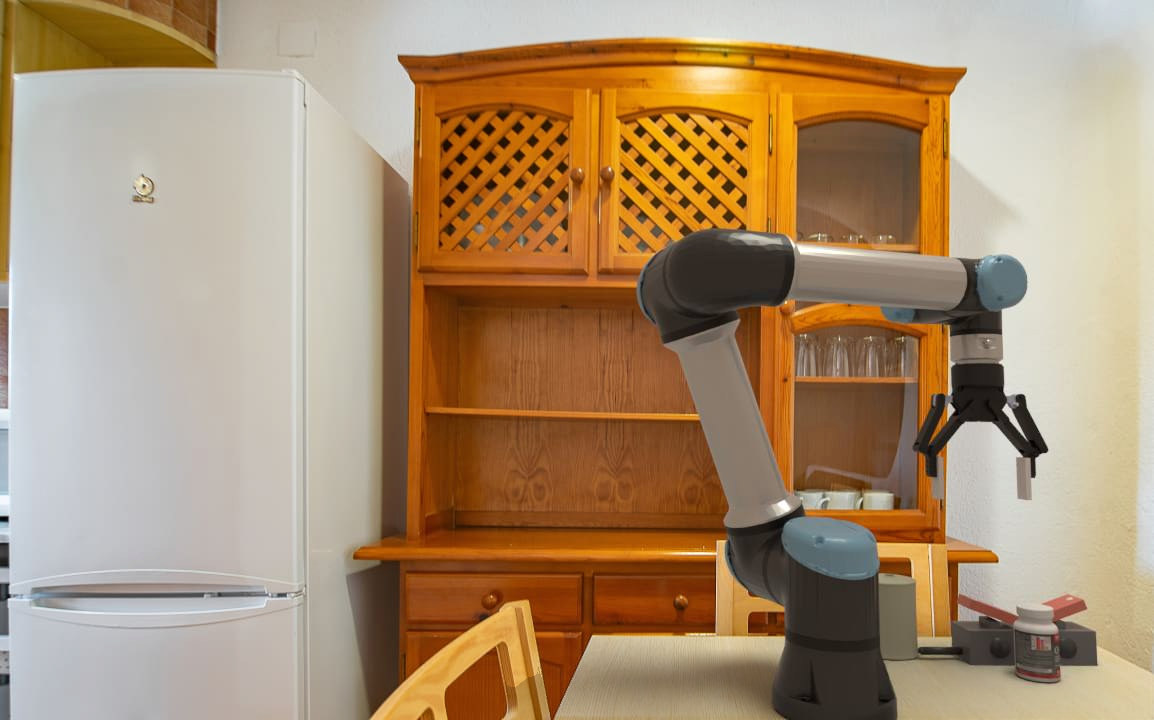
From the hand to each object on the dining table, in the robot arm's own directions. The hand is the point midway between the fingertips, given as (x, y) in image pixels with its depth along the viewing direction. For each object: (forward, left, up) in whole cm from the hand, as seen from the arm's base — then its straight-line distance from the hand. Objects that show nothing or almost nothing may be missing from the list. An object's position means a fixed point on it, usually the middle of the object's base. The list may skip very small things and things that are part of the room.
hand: (981, 499), depth 124 cm
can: (-14, +4, -25) cm, 29 cm away
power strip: (+2, 0, -24) cm, 25 cm away
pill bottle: (+3, -8, -25) cm, 26 cm away
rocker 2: (+11, 0, -17) cm, 20 cm away
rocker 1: (+1, 0, -17) cm, 17 cm away
